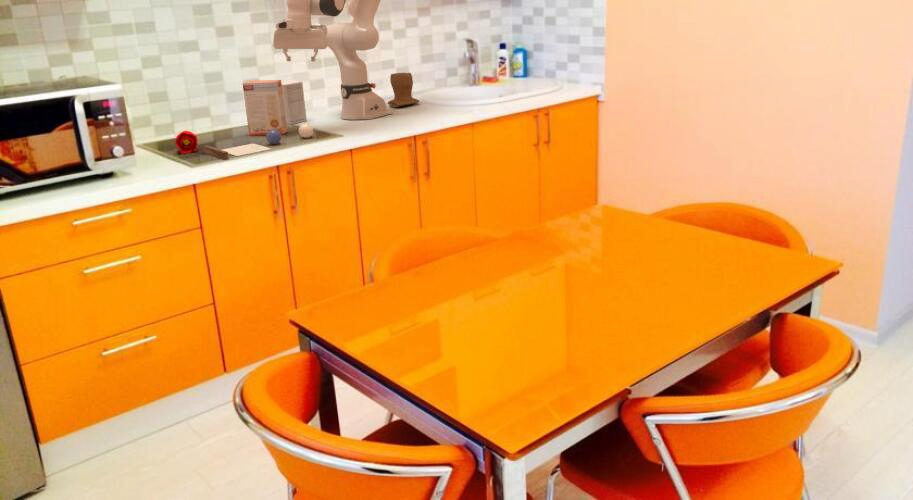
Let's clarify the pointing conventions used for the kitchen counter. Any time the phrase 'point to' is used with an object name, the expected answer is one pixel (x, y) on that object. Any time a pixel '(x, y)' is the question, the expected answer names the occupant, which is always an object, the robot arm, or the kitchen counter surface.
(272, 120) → the cracker box
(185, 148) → the flower
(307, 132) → the cue ball
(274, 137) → the navy ball
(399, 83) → the brown flared piece
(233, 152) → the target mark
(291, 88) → the supplement box
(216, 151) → the rail
